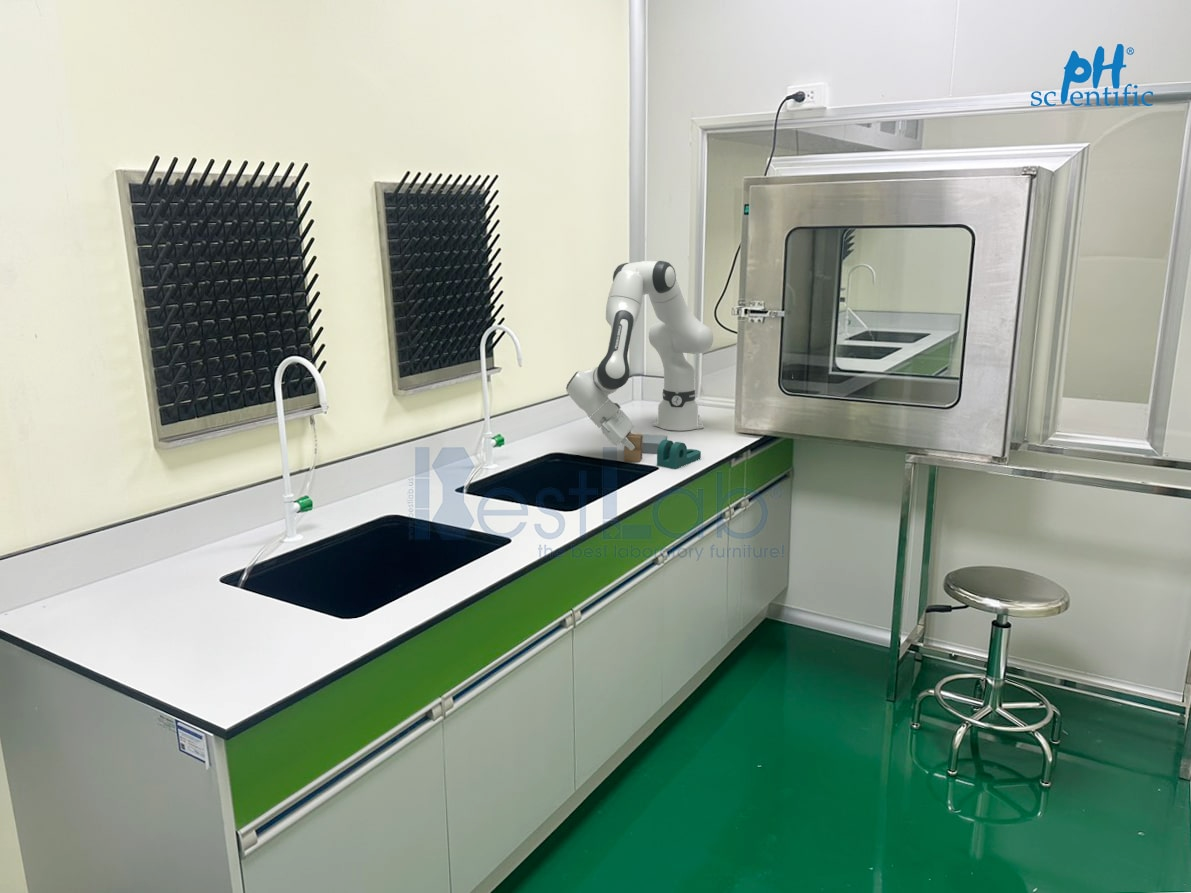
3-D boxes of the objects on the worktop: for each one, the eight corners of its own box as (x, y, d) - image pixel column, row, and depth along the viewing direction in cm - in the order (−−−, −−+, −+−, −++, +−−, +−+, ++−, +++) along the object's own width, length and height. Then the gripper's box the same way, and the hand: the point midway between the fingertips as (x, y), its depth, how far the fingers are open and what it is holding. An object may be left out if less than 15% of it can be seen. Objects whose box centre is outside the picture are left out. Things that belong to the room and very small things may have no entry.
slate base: (632, 444, 298) (632, 433, 297) (667, 446, 296) (667, 435, 295) (626, 453, 287) (626, 441, 286) (662, 455, 284) (662, 443, 283)
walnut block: (627, 457, 280) (627, 433, 278) (642, 458, 279) (642, 434, 277) (624, 461, 276) (624, 436, 274) (639, 462, 274) (639, 437, 273)
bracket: (675, 469, 267) (675, 445, 265) (656, 466, 271) (657, 441, 269) (704, 457, 281) (705, 434, 279) (686, 454, 285) (687, 431, 283)
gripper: (605, 415, 265) (636, 448, 265) (618, 402, 284) (647, 432, 285) (591, 428, 267) (622, 461, 267) (605, 414, 286) (633, 445, 287)
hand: (635, 446), depth 276 cm, fingers closed on walnut block, 5 cm apart
